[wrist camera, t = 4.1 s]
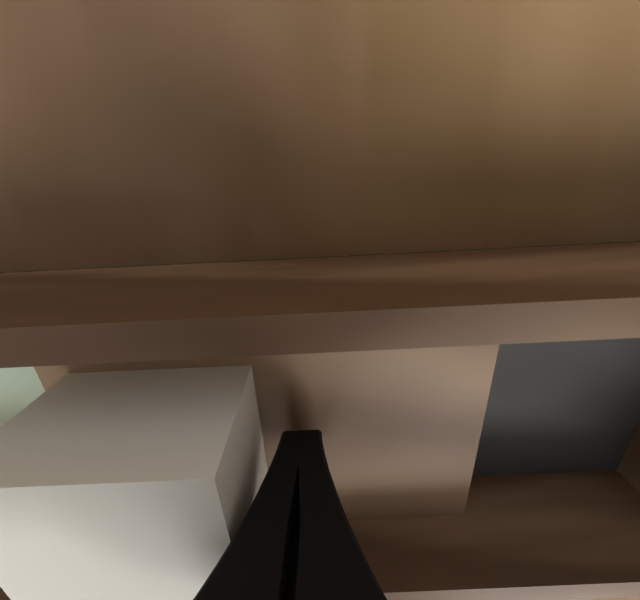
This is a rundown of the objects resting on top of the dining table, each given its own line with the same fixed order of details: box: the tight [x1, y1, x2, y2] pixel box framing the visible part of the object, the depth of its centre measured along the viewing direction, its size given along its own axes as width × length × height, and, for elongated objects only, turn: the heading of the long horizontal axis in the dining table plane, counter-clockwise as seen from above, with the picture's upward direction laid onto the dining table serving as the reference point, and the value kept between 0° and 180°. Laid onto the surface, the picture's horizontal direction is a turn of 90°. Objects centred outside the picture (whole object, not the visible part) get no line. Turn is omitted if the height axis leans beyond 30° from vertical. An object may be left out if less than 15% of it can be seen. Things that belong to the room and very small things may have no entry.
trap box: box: [0, 242, 640, 600], centre depth 11 cm, size 12×32×4 cm, turn 93°
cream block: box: [0, 365, 268, 600], centre depth 9 cm, size 6×6×4 cm
